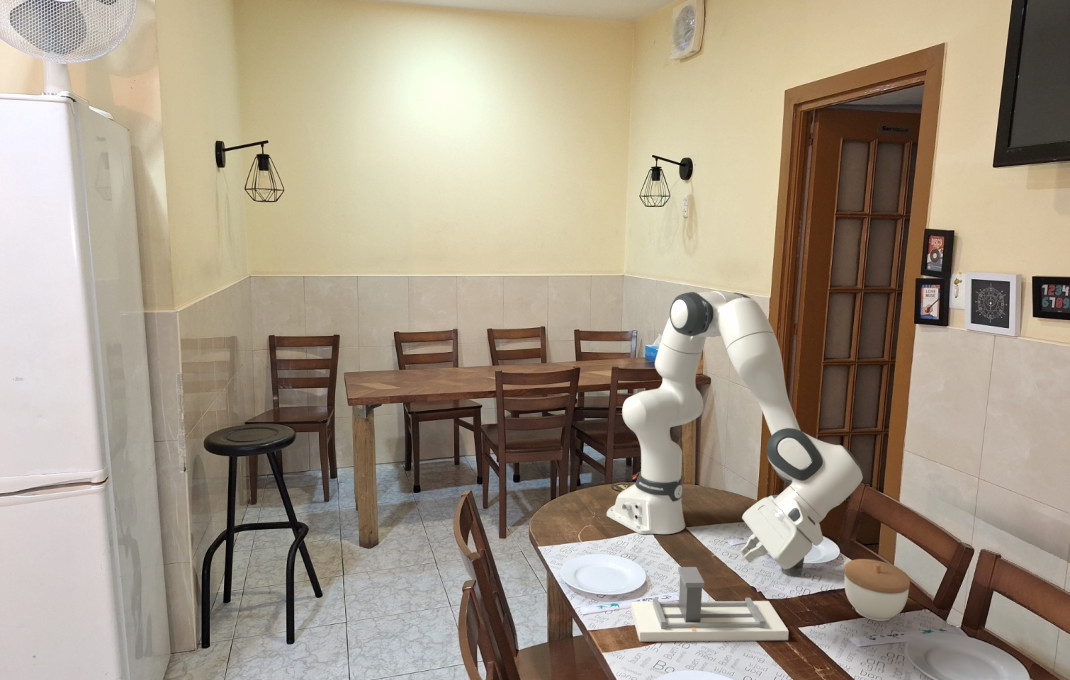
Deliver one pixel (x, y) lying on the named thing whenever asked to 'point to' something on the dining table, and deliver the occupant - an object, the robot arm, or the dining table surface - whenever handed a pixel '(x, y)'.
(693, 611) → the fader tab
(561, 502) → the dining table surface
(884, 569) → the lidded bowl
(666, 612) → the fader console
